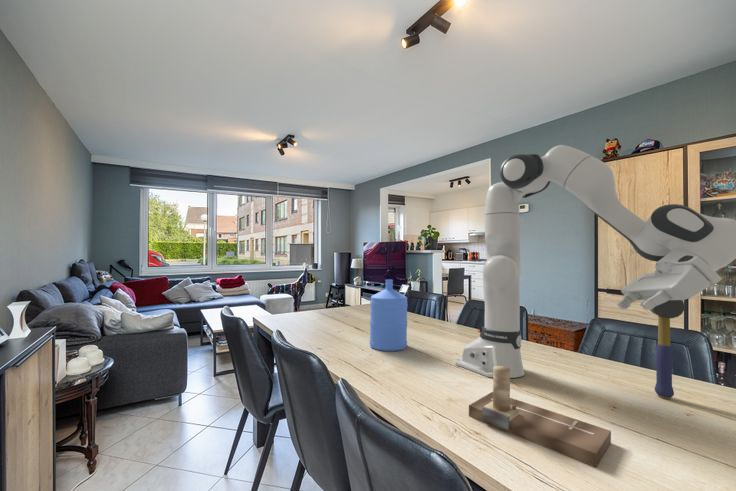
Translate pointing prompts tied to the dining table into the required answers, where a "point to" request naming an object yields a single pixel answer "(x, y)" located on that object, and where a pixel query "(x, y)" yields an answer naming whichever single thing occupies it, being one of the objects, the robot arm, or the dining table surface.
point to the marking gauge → (500, 400)
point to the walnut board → (553, 430)
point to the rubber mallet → (665, 346)
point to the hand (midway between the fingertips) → (631, 307)
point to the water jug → (388, 319)
